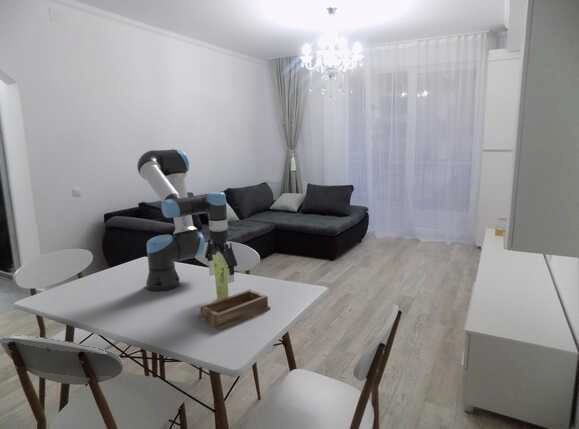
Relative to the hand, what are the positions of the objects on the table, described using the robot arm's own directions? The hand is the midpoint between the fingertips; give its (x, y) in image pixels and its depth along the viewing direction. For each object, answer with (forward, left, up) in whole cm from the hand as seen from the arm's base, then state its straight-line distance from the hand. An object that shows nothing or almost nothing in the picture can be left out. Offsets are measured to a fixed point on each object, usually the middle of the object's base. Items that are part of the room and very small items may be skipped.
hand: (221, 278), depth 166 cm
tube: (0, 0, -9) cm, 9 cm away
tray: (+16, -5, -9) cm, 19 cm away
